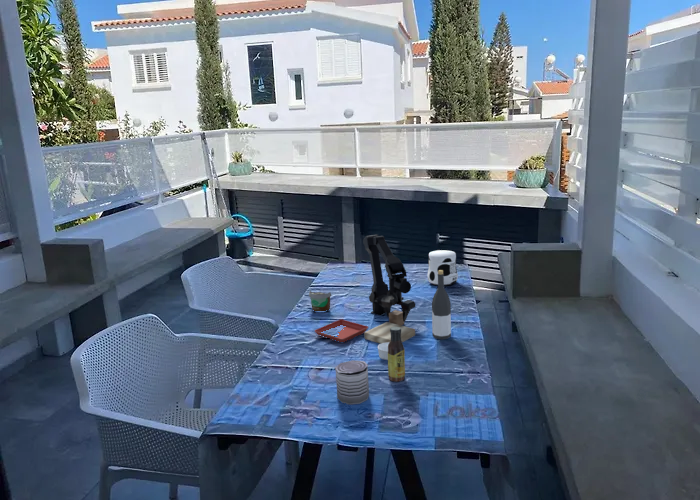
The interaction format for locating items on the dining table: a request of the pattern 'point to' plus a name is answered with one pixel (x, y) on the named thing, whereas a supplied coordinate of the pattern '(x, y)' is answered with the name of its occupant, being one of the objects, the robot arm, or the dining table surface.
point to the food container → (320, 301)
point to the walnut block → (396, 317)
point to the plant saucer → (347, 333)
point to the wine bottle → (441, 311)
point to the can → (352, 382)
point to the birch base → (387, 333)
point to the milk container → (442, 267)
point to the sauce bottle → (396, 356)
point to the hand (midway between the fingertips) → (396, 319)
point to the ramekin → (383, 350)
